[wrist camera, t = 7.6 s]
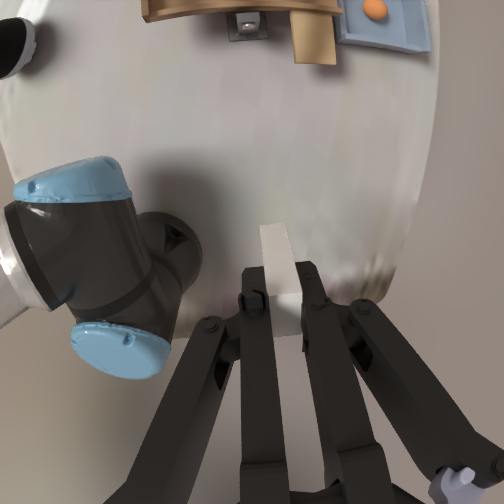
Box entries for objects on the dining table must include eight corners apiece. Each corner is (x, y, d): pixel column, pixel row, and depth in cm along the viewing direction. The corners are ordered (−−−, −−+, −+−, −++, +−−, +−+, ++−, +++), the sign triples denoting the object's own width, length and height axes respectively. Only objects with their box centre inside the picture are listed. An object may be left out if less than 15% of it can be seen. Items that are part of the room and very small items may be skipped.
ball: (394, 20, 24) (378, 23, 27) (391, -1, 22) (375, 3, 25) (374, 14, 23) (358, 18, 26) (370, -8, 21) (355, -3, 24)
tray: (336, 42, 29) (351, 36, 24) (327, -26, 23) (339, -40, 18) (409, 53, 29) (431, 52, 24) (401, -11, 23) (420, -20, 18)
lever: (151, 77, 25) (147, 75, 22) (144, -18, 18) (140, -27, 15) (340, 65, 28) (353, 64, 25) (330, -21, 21) (342, -29, 18)
